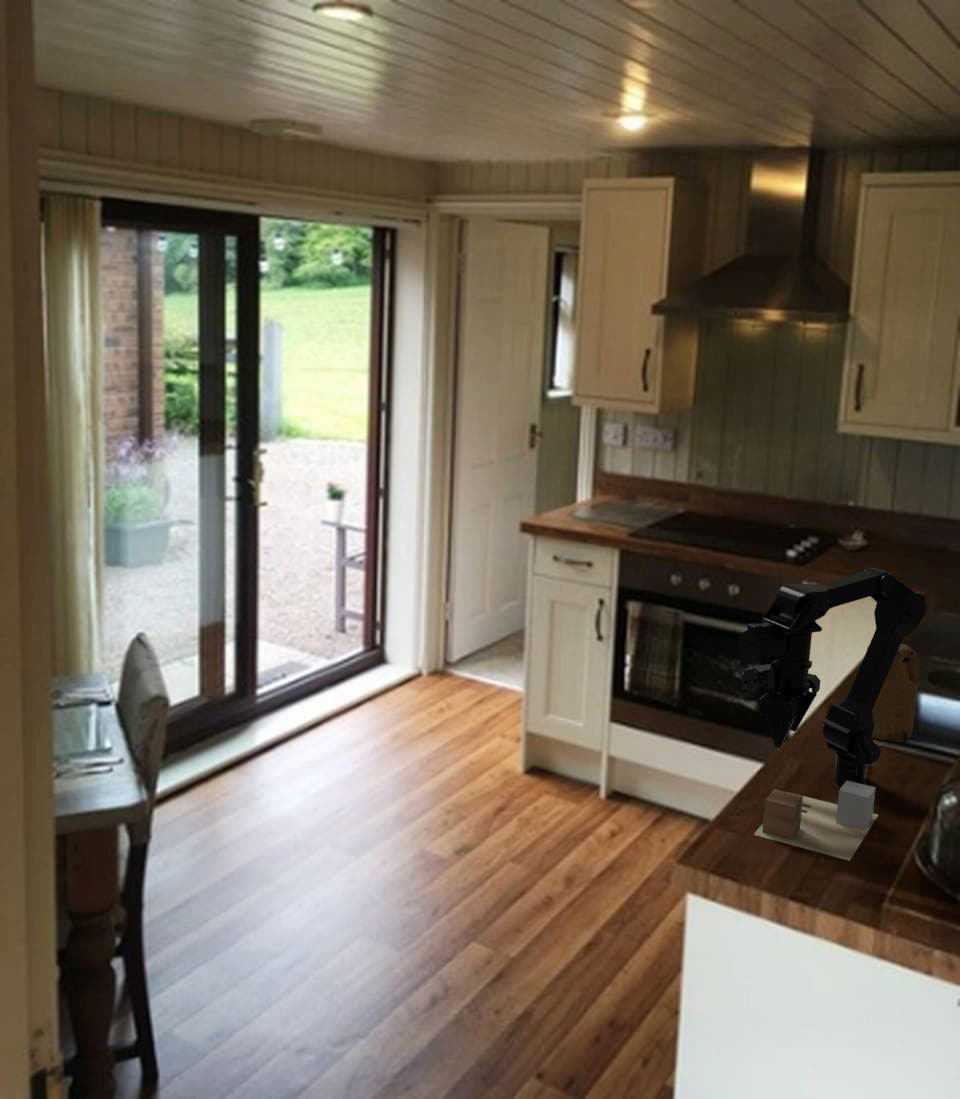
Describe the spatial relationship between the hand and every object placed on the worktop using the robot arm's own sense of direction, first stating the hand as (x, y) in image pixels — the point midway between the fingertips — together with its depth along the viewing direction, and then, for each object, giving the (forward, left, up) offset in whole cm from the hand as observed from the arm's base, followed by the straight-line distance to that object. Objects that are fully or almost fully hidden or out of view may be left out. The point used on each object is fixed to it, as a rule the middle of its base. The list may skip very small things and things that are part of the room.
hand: (785, 738), depth 205 cm
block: (-44, +9, -12) cm, 47 cm away
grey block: (+3, +14, -11) cm, 18 cm away
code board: (+8, +9, -12) cm, 17 cm away
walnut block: (+14, +5, -11) cm, 18 cm away
